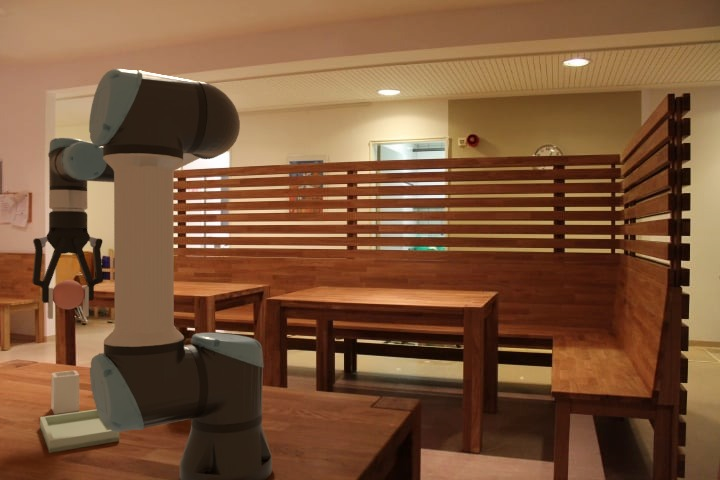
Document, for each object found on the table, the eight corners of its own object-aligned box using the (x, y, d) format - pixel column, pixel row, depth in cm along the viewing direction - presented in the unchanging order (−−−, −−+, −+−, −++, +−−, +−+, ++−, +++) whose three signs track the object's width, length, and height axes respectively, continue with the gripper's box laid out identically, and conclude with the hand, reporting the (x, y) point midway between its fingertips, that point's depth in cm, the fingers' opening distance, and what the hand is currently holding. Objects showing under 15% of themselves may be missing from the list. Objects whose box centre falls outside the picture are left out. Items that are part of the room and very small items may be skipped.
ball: (86, 309, 132) (86, 280, 132) (53, 311, 128) (53, 281, 128) (81, 306, 137) (81, 278, 137) (50, 308, 134) (50, 279, 134)
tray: (119, 441, 117) (119, 429, 117) (49, 452, 110) (49, 440, 110) (103, 418, 130) (103, 408, 130) (40, 427, 124) (40, 417, 124)
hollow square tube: (79, 410, 135) (79, 374, 135) (54, 414, 133) (54, 377, 133) (75, 405, 140) (75, 370, 140) (51, 408, 137) (51, 372, 137)
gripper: (112, 212, 141) (111, 312, 141) (16, 210, 131) (16, 317, 131) (118, 211, 135) (118, 315, 135) (18, 208, 124) (18, 322, 124)
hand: (68, 316), depth 133 cm, fingers closed on ball, 6 cm apart
